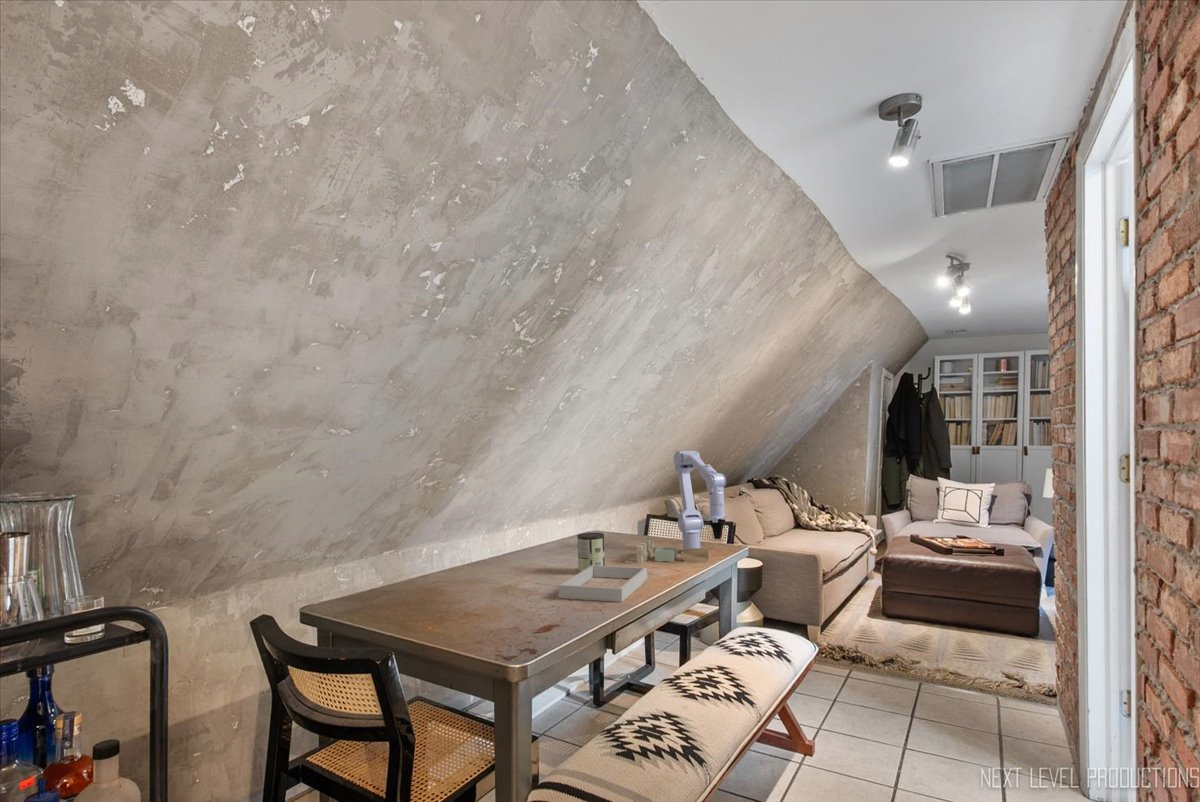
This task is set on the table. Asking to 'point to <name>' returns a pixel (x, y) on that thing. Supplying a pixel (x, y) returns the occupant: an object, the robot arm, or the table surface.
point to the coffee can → (590, 550)
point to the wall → (642, 552)
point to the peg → (696, 554)
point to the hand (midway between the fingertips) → (718, 538)
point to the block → (666, 554)
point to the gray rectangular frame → (576, 591)
